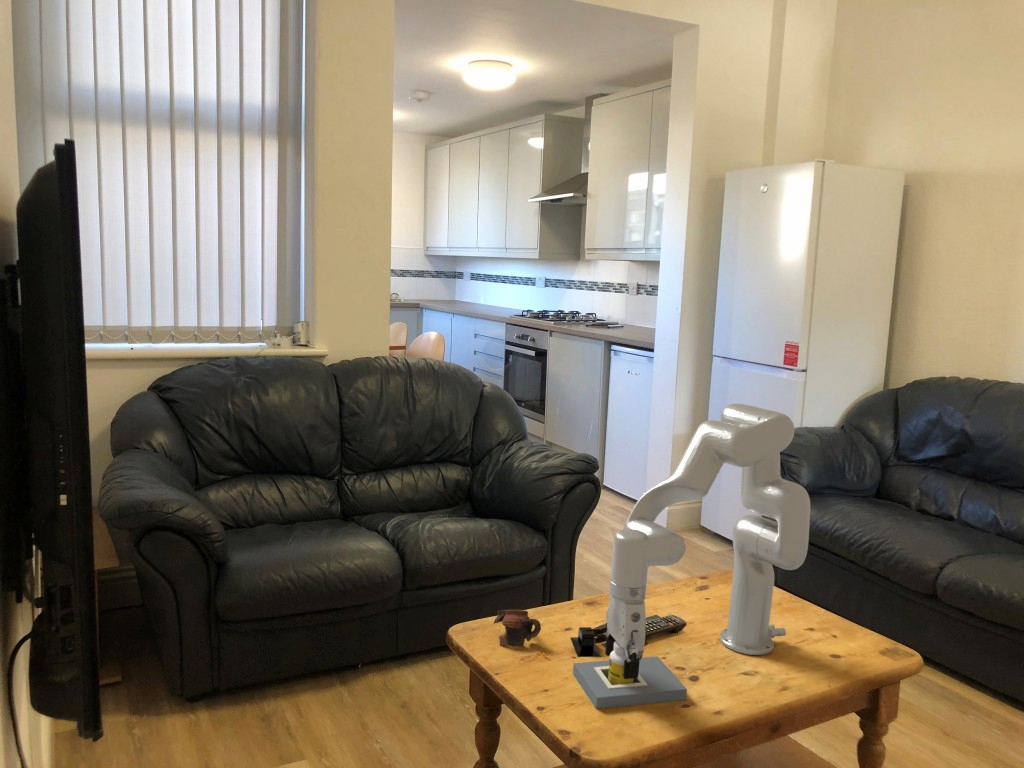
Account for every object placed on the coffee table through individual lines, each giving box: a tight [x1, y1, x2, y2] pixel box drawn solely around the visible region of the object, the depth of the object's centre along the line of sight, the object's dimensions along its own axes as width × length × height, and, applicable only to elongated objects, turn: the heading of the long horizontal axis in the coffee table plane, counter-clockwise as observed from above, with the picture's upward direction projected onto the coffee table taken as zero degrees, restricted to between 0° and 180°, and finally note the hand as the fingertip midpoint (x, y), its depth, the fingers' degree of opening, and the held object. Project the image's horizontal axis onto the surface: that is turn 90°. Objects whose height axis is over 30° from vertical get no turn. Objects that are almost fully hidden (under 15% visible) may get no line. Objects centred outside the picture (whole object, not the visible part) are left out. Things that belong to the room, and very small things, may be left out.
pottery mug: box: [493, 609, 542, 647], centre depth 189 cm, size 12×10×8 cm
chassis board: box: [572, 655, 688, 710], centre depth 170 cm, size 20×14×3 cm
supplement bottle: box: [608, 641, 634, 685], centre depth 169 cm, size 5×5×10 cm
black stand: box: [570, 626, 602, 658], centre depth 187 cm, size 12×7×5 cm, turn 6°
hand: (621, 666), depth 169 cm, fingers open, 9 cm apart
